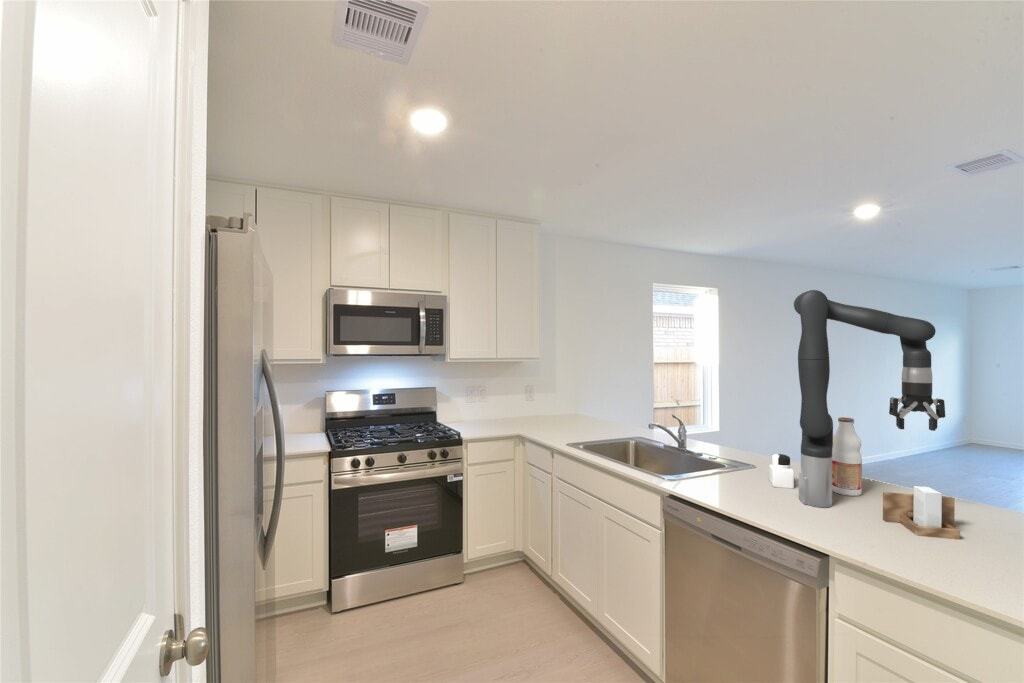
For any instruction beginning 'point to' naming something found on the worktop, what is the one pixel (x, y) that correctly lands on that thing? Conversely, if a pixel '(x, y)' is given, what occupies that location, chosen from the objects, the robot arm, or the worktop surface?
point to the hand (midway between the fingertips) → (916, 429)
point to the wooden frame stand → (902, 512)
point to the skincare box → (927, 507)
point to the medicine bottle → (781, 472)
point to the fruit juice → (846, 459)
